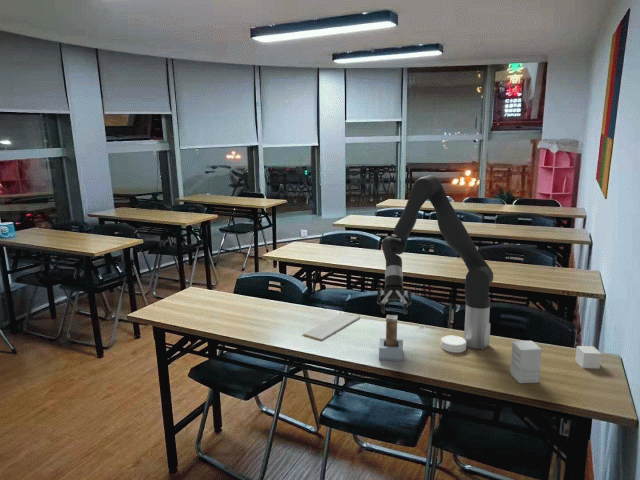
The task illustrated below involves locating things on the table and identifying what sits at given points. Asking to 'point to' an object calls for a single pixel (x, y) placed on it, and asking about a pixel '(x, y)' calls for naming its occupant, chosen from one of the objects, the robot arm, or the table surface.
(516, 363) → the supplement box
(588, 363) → the white cube
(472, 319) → the robot arm
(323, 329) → the baseboard
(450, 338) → the white round disc
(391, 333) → the rail post
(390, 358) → the grey square collar
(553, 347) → the table surface
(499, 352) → the table surface
